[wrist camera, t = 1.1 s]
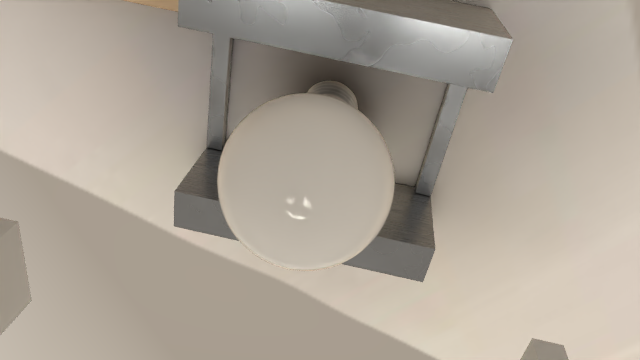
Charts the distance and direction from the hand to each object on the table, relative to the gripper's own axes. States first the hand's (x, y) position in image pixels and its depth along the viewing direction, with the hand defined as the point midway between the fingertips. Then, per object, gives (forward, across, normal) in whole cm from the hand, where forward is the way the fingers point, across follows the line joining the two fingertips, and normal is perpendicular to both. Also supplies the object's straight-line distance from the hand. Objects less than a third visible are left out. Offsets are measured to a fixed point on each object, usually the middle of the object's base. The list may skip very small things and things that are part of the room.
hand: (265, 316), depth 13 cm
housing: (+14, 0, 0) cm, 14 cm away
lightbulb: (+14, 0, 0) cm, 14 cm away
